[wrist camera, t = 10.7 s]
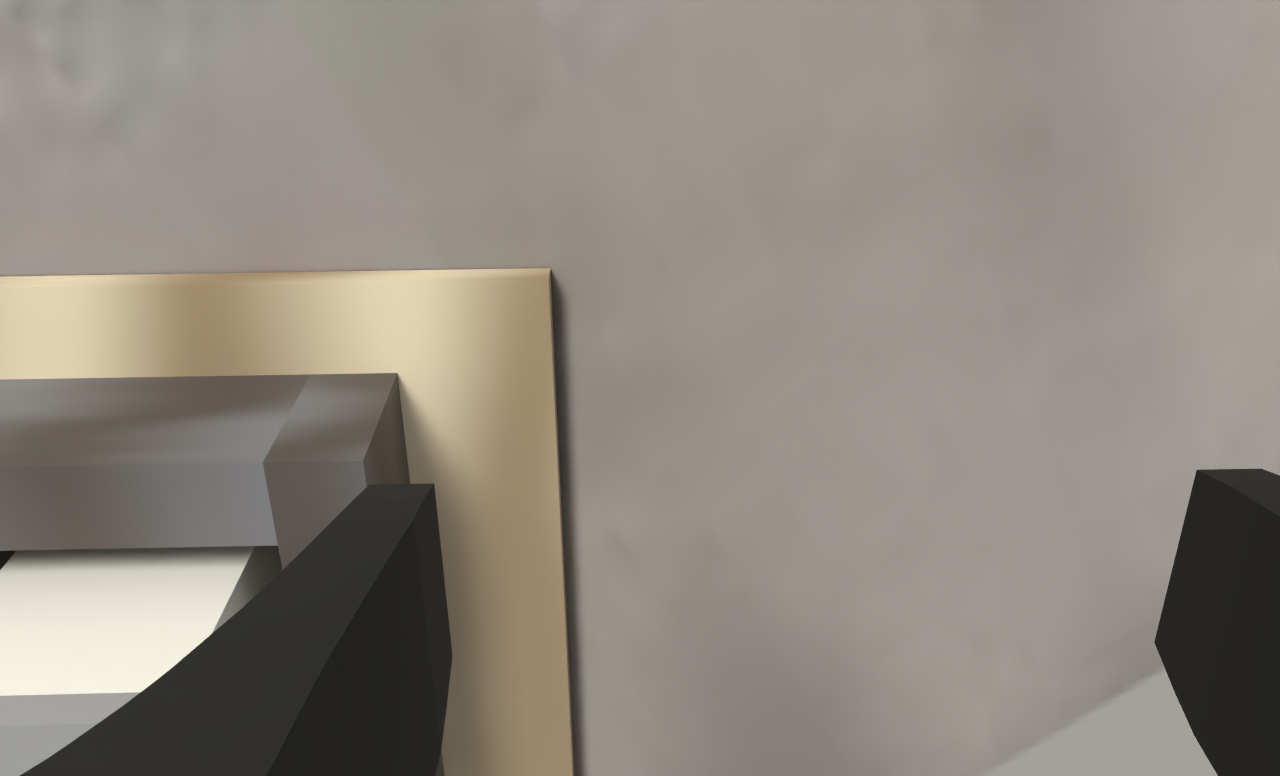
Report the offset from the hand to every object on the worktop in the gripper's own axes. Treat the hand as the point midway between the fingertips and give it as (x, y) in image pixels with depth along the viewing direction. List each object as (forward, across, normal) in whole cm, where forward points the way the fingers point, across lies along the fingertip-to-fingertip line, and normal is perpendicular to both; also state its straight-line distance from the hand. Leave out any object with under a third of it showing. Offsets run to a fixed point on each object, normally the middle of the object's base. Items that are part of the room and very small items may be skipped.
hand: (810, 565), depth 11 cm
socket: (+9, +10, +7) cm, 15 cm away
